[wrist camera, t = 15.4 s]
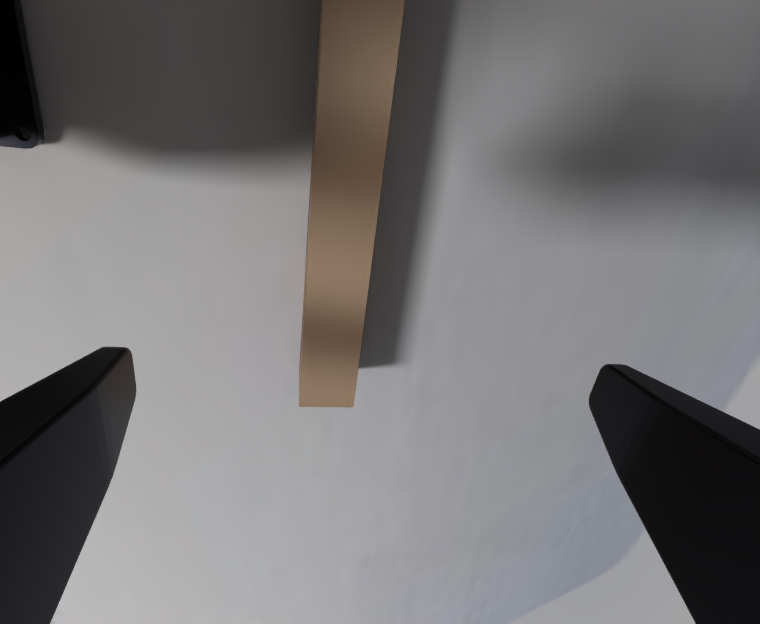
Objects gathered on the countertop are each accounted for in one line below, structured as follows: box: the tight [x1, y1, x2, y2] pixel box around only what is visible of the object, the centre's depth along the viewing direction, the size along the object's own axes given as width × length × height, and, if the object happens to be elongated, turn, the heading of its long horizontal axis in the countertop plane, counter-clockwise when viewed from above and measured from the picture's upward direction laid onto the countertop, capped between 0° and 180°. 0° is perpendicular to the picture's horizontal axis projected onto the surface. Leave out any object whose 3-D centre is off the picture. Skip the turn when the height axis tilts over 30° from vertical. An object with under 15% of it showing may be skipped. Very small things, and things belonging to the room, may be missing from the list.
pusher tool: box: [299, 0, 405, 407], centre depth 18 cm, size 21×7×4 cm, turn 173°
